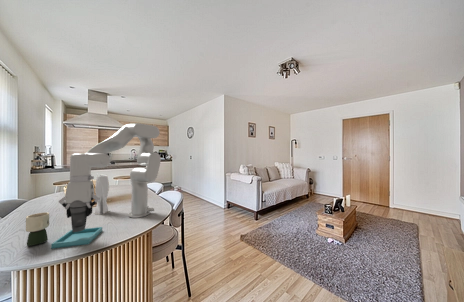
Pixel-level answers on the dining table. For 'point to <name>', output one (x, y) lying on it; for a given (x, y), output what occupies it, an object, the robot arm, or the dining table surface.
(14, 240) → the dining table surface
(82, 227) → the beverage cup
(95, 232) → the tray
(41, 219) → the character mug
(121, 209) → the dining table surface
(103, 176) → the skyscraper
